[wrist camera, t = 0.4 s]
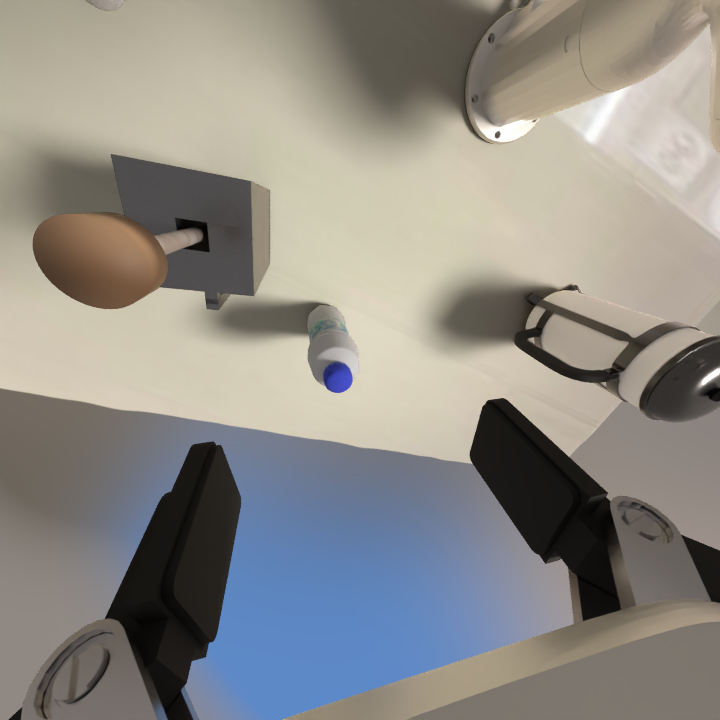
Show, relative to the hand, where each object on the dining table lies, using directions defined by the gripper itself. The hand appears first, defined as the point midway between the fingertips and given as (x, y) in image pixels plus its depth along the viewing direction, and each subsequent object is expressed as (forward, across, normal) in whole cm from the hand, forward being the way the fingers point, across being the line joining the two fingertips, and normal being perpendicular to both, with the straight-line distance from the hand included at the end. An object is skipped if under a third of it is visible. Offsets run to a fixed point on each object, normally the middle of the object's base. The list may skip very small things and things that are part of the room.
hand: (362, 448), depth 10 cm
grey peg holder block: (+38, +10, -4) cm, 40 cm away
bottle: (+38, -1, +10) cm, 39 cm away
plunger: (+26, +10, -6) cm, 29 cm away
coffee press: (+38, -45, +13) cm, 61 cm away
